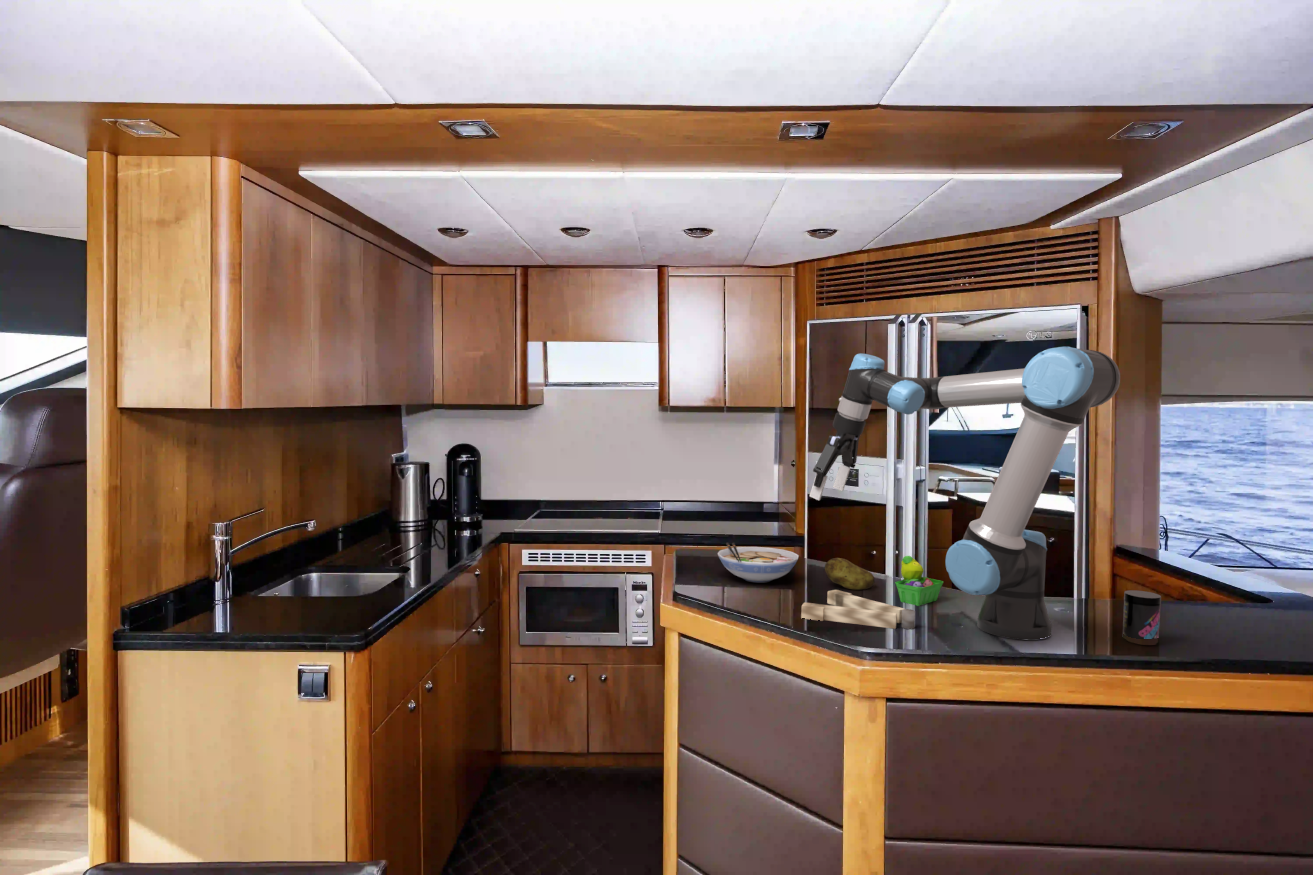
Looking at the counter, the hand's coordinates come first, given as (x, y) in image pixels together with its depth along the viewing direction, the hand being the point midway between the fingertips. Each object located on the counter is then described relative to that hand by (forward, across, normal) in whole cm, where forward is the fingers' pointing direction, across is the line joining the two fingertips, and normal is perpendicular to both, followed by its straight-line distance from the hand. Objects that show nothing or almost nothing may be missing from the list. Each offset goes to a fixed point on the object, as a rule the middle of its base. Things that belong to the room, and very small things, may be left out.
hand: (826, 493), depth 200 cm
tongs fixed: (+19, +18, +23) cm, 35 cm away
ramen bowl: (+34, -4, -13) cm, 36 cm away
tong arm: (+20, +9, +22) cm, 31 cm away
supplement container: (+4, -9, +74) cm, 75 cm away
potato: (+27, -12, +10) cm, 31 cm away
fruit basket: (+21, -11, +28) cm, 36 cm away
